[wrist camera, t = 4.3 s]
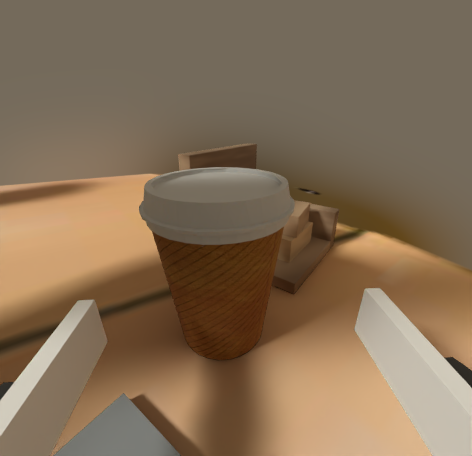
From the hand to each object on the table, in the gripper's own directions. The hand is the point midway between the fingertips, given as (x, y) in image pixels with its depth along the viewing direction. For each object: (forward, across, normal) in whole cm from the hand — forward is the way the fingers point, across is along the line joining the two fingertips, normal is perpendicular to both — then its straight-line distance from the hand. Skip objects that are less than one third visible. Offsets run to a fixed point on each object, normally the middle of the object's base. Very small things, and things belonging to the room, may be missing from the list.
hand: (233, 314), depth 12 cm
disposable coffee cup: (+6, -1, -7) cm, 9 cm away
